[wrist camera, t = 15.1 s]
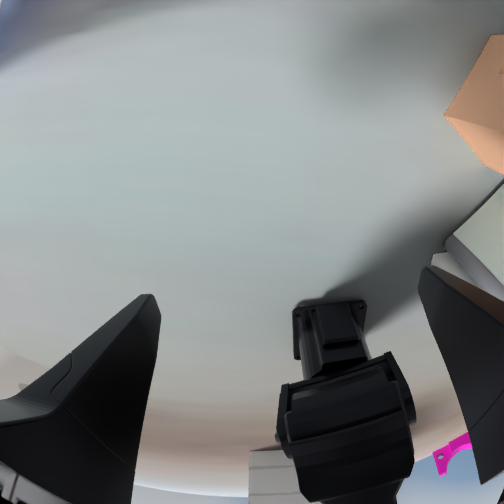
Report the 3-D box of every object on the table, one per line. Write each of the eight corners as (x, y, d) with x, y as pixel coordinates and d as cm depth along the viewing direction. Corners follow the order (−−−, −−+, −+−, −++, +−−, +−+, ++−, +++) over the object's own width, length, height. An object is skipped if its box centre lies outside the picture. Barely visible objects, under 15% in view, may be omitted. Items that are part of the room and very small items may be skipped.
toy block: (483, 422, 47) (492, 444, 40) (481, 428, 49) (489, 449, 43) (431, 450, 51) (438, 473, 44) (433, 454, 53) (439, 476, 47)
